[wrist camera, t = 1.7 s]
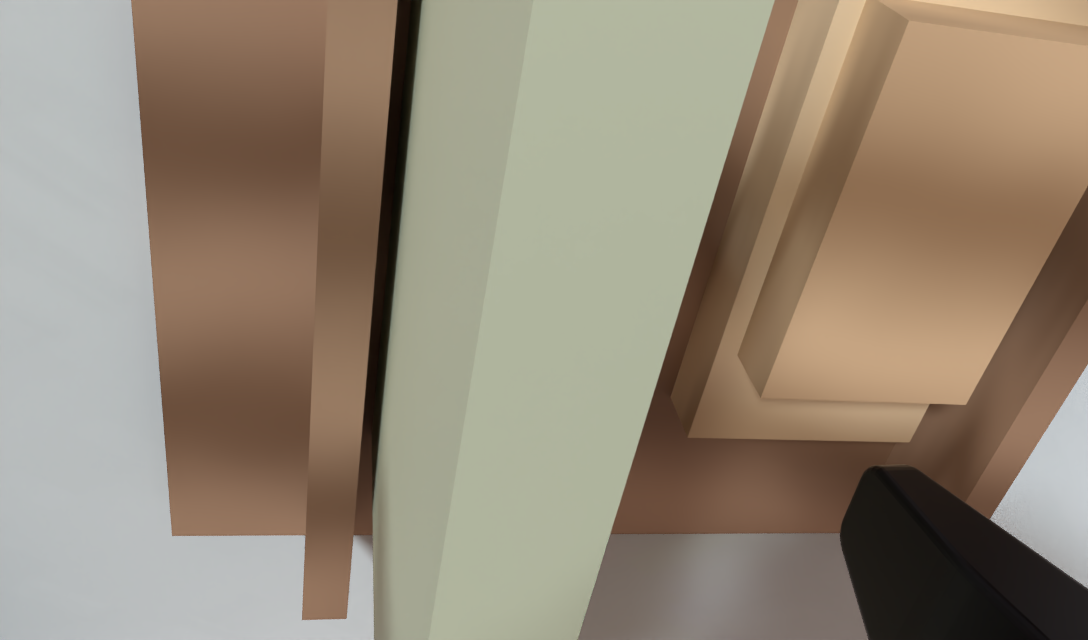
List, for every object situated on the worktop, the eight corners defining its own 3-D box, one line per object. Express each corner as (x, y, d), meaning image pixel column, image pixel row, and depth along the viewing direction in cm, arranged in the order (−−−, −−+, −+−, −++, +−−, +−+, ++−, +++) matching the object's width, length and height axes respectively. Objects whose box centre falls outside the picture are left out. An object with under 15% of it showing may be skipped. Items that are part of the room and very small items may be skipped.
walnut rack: (892, 508, 29) (959, 614, 25) (178, 506, 24) (150, 637, 21) (1324, -285, 17) (1547, -272, 14) (101, -601, 12) (9, -695, 9)
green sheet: (437, 437, 23) (486, 935, 14) (371, 435, 22) (377, 947, 13) (531, -209, 15) (781, -19, 6) (431, -228, 14) (542, -53, 6)
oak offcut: (932, 363, 22) (965, 404, 20) (737, 355, 21) (760, 398, 19) (1104, 28, 17) (1160, 56, 16) (868, -6, 16) (909, 20, 15)
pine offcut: (882, 404, 24) (909, 442, 23) (670, 397, 23) (687, 437, 22) (1088, -17, 18) (1140, 5, 17) (818, -61, 17) (853, -40, 16)
